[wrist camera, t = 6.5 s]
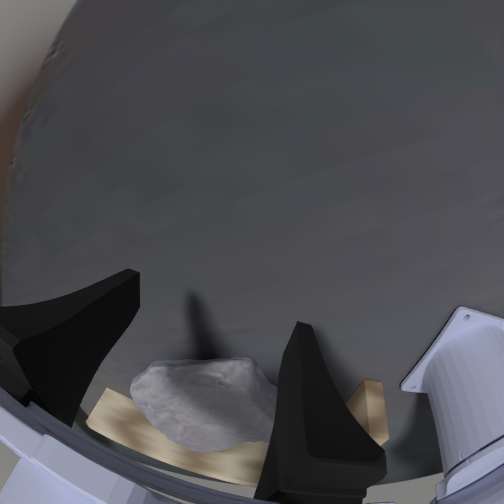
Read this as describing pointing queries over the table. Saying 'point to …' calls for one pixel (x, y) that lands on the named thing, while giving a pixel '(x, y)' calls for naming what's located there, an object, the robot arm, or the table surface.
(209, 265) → the table surface
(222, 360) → the stone block
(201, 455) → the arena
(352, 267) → the table surface
